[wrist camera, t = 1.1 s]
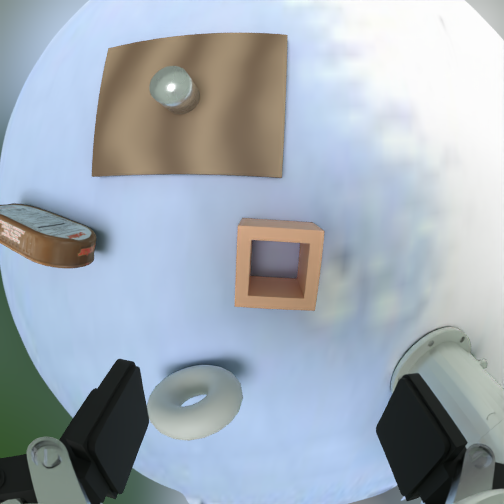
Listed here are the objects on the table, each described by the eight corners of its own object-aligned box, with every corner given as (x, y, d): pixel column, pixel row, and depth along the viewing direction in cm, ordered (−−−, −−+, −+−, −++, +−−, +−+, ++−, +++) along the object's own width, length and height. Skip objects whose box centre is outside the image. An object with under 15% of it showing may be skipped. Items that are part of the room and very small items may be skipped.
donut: (169, 387, 31) (144, 446, 21) (158, 365, 30) (126, 423, 20) (249, 376, 30) (244, 443, 20) (240, 351, 29) (231, 418, 19)
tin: (19, 220, 26) (-28, 232, 18) (22, 196, 26) (-26, 203, 18) (108, 257, 27) (61, 283, 19) (113, 228, 26) (63, 246, 18)
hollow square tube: (312, 222, 26) (324, 231, 21) (305, 288, 27) (314, 310, 22) (242, 217, 26) (237, 225, 21) (239, 285, 27) (234, 306, 22)
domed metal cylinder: (201, 81, 21) (191, 64, 18) (198, 113, 22) (187, 101, 18) (167, 83, 21) (152, 68, 18) (163, 115, 22) (147, 104, 18)
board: (286, 41, 22) (287, 34, 20) (280, 177, 25) (281, 177, 23) (114, 53, 22) (108, 48, 20) (99, 176, 25) (91, 176, 24)
